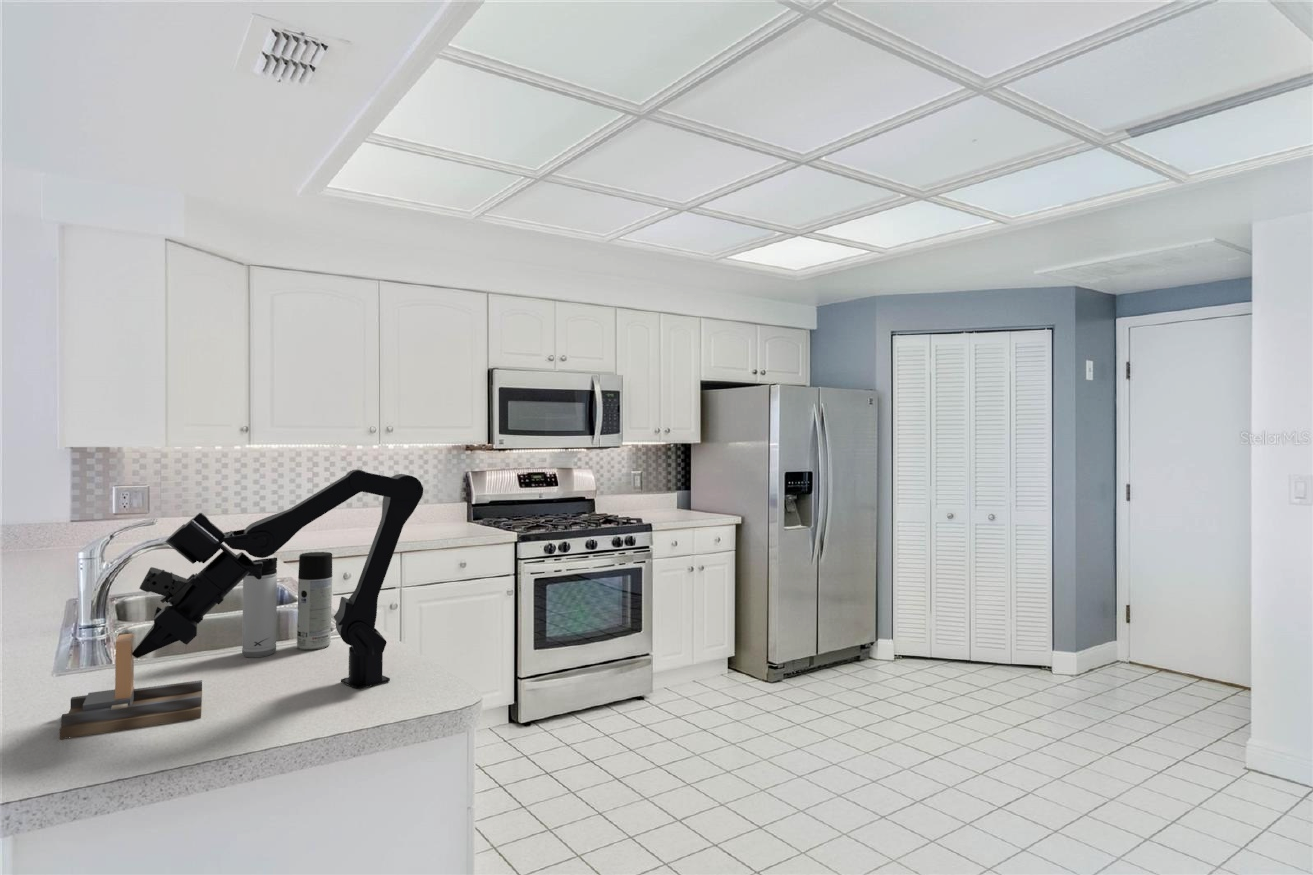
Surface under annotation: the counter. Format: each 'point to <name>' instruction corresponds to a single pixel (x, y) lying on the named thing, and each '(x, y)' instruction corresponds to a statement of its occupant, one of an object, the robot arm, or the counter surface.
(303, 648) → the spray can
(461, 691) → the counter surface
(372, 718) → the counter surface
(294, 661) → the counter surface
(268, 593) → the travel mug
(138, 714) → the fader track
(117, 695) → the fader tab
